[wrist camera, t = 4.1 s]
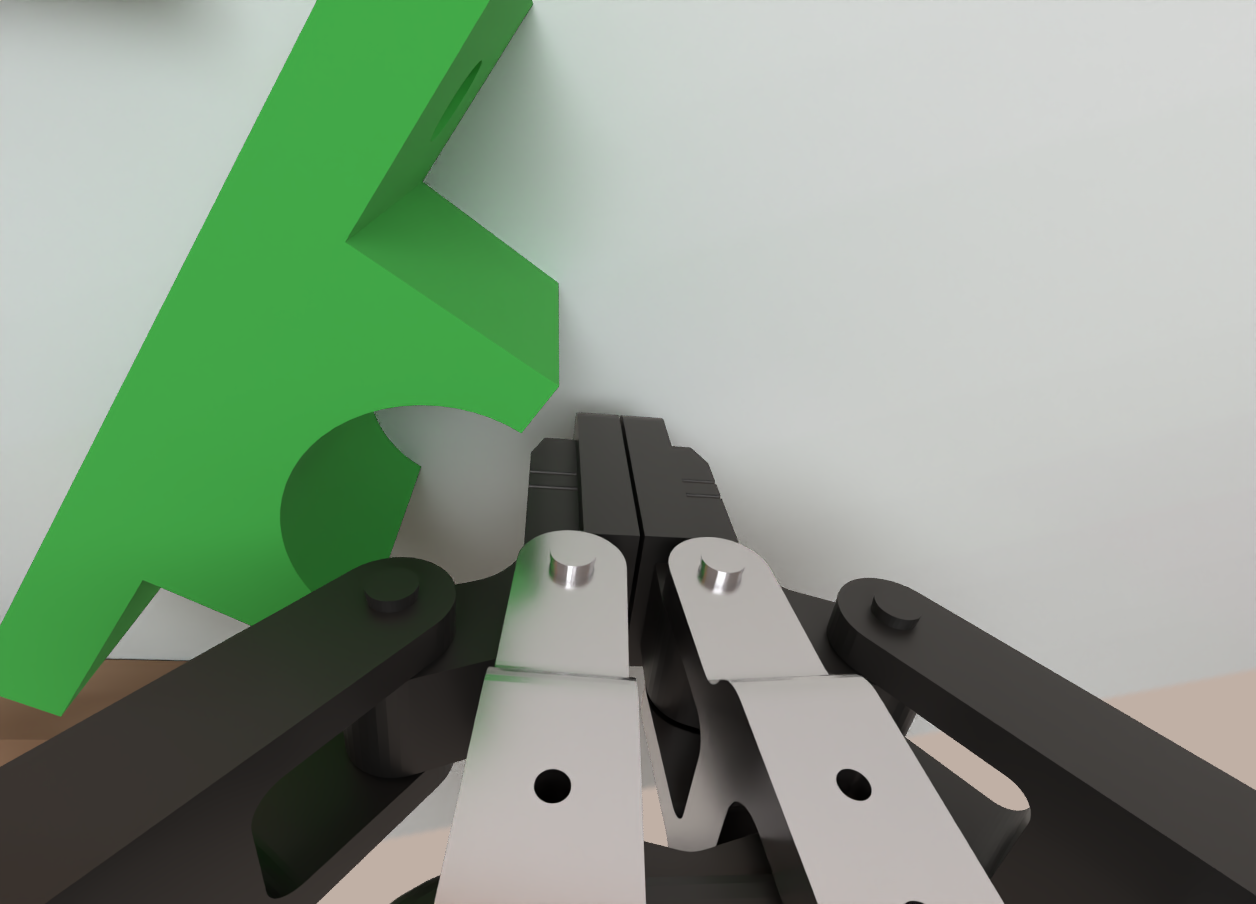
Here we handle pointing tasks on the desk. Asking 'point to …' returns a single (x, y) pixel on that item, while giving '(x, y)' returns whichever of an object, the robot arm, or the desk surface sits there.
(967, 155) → the desk surface
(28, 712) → the channel stop
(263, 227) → the pipe clamp
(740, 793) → the robot arm
